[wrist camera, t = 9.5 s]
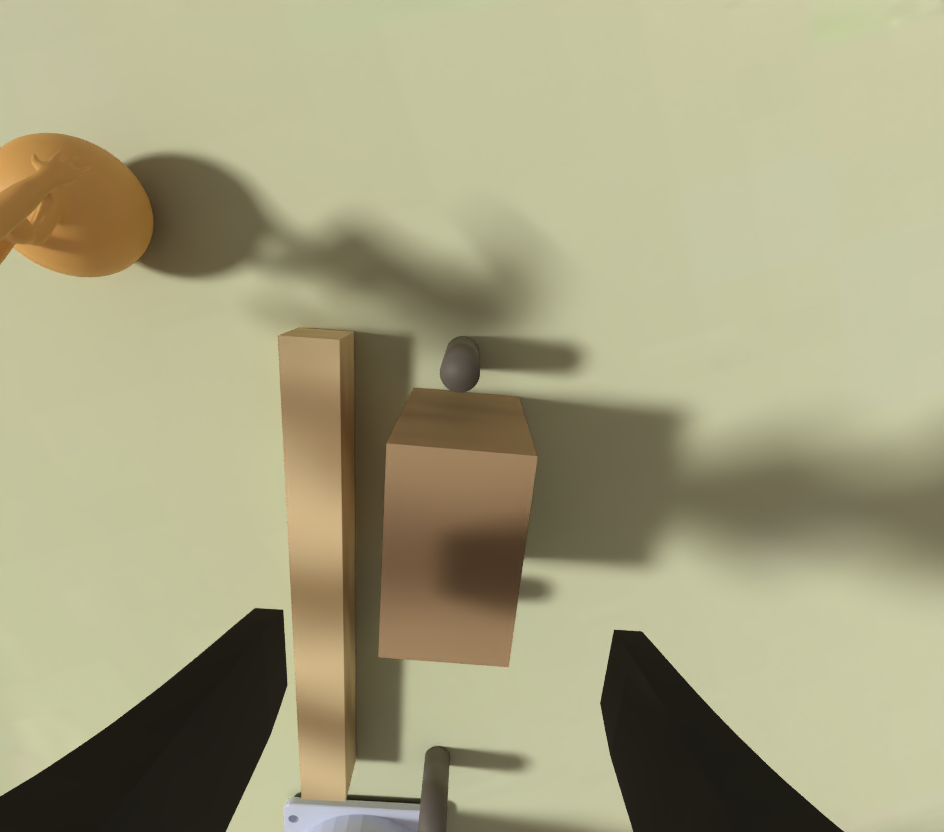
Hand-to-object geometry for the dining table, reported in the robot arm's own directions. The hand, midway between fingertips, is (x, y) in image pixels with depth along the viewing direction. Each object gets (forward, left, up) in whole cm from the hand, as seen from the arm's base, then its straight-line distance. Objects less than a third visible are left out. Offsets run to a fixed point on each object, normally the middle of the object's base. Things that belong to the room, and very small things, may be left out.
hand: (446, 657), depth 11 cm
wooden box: (0, 0, -9) cm, 9 cm away
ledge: (-5, +3, -9) cm, 11 cm away
